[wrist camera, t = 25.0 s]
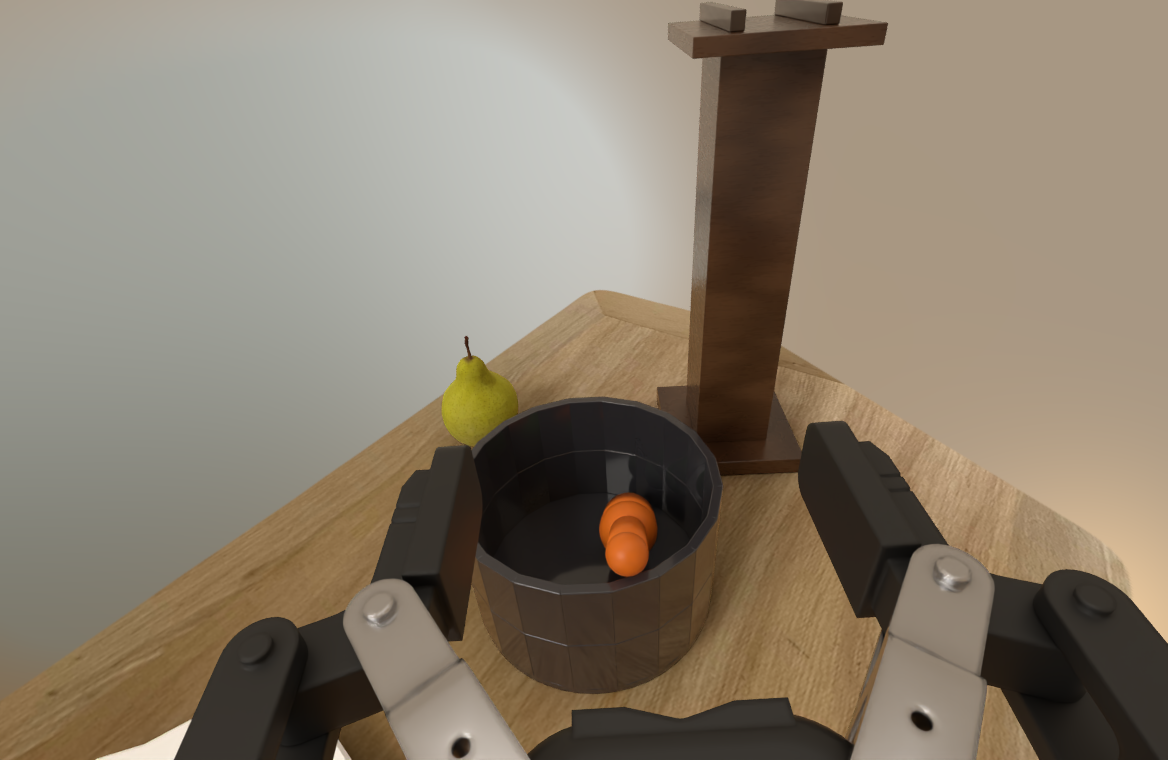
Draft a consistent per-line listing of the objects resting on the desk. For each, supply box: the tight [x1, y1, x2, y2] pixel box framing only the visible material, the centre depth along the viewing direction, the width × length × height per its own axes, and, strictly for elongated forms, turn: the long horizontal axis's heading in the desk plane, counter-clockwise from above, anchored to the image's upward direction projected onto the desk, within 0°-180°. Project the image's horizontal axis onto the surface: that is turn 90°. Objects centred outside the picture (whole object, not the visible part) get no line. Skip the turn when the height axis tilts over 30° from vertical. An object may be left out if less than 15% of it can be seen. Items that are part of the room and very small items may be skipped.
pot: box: [471, 397, 723, 694], centre depth 38 cm, size 16×16×10 cm
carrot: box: [599, 492, 657, 577], centre depth 36 cm, size 4×16×4 cm
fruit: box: [442, 336, 518, 447], centre depth 51 cm, size 7×7×12 cm
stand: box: [657, 0, 888, 475], centre depth 43 cm, size 11×11×33 cm
